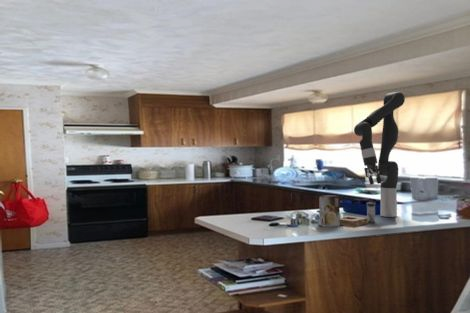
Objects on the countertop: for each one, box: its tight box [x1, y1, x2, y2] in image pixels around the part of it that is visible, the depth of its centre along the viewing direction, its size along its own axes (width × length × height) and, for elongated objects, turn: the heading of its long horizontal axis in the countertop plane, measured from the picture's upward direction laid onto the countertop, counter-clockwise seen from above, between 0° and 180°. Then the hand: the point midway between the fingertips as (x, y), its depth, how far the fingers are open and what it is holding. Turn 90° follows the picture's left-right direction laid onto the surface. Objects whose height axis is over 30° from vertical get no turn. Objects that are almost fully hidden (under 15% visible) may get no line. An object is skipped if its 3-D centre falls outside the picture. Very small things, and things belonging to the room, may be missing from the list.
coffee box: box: [318, 194, 341, 228], centre depth 245 cm, size 9×6×16 cm
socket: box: [340, 215, 369, 228], centre depth 251 cm, size 14×14×3 cm
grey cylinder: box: [365, 202, 377, 224], centre depth 255 cm, size 5×5×11 cm
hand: (375, 183), depth 265 cm, fingers open, 8 cm apart
